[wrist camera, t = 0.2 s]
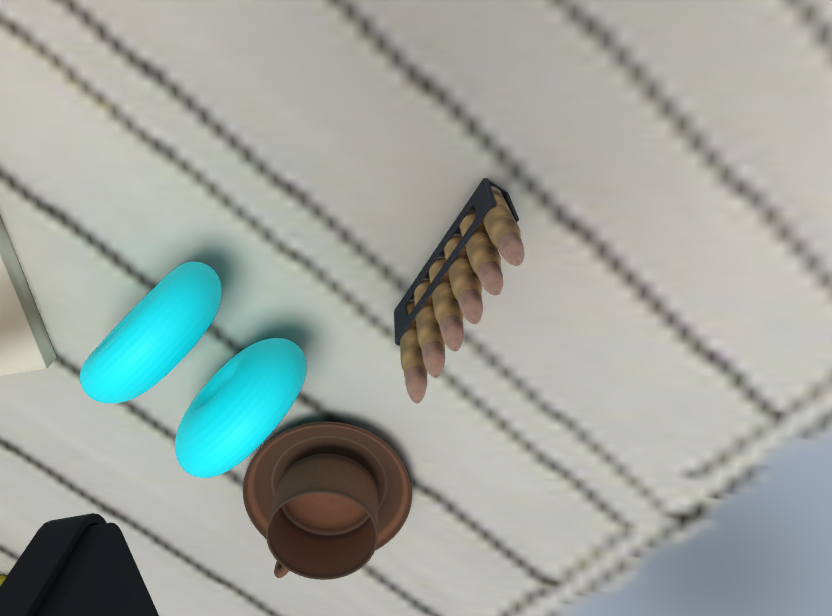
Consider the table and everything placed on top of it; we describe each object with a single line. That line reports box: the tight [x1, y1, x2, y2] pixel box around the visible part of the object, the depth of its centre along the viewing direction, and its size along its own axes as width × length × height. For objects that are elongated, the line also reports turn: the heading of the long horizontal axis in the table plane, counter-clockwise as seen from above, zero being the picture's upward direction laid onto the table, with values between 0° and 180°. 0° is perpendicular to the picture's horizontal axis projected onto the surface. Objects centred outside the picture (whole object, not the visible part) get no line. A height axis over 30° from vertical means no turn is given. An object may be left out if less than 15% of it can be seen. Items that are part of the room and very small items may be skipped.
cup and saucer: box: [243, 422, 412, 580], centre depth 50 cm, size 12×12×6 cm
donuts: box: [80, 262, 307, 478], centre depth 43 cm, size 10×10×10 cm
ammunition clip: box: [394, 178, 524, 403], centre depth 40 cm, size 11×2×12 cm, turn 148°
